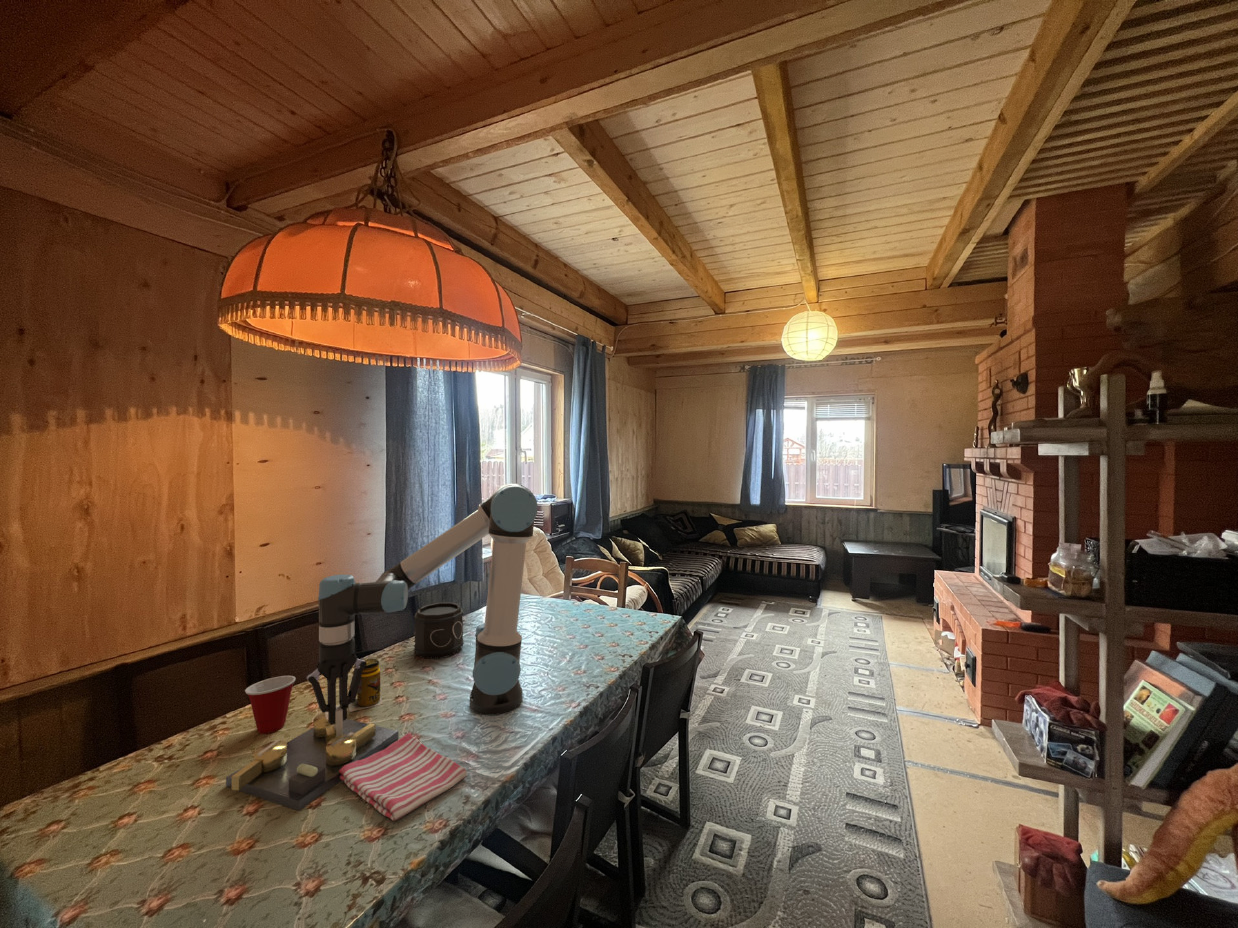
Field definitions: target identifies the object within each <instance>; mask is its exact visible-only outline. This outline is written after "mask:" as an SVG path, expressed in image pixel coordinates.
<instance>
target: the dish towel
mask: <svg viewBox="0 0 1238 928" xmlns="http://www.w3.org/2000/svg"><path fill="white" fill-rule="evenodd" d="M339 772H340V773H341V774H342V775H341V776H340V779H341V781H342V782H344V784H345V786H347V787H348V788H349V789H350V790H351V791H353V792H354V793H356V794H358V795H359V797H360V798H362V800H363V801H365V802H367V803H368V804H370V805H372V806H373V807H374V809H375V810H377V811H378V813H380V814H381V815H383V816H384V817H387V818H389V819H391V820H392V821H397V820H399V819H401V818H402V817H405V816H406V815H407V814H410V813H411V812H412V811H414V810H416V809H417V808H420V807H421V806H422V805H424V804H426V803H428V802H429V801H431V800H433V799H434V798H436V797H438V796H440V795H441V794H443V793H445V792H446V791H447V790H450V789H452V787H454V786H455V785H457V784H458V783H459V782H461V781H462V780H463V779H464V780H465V779H466V778H467V775H468V772H467V770H466V769H465V768H464V766H461V765H459V764H458V763H457V762H455V761H454V760H452V759H451V758H449V757H446V756H445V755H441V754H440V753H439V752H437V751H436V750H434V749H431V748H430V747H427V746H425V745H424V744H423V743H422V742H421V741H420V740H419V739H418V738H416V737H414V736H412V733H411V732H407V733H406V734H404V735H402V736H401V738H398V740H396V741H395V742H393V743H392V744H391V745H389V746H388V747H387V748H385V749H384V750H382V751H379V752H377V753H375V754H373V755H371V756H369V757H367V758H365V759H362V760H358V761H355V762H352V763H349V764H347V765H344V766H343V767H342V768H341V769H340V770H339Z"/></svg>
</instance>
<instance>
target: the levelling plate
mask: <svg viewBox="0 0 1238 928" xmlns="http://www.w3.org/2000/svg"><path fill="white" fill-rule="evenodd" d="M369 724H370V723H366V722H361V721H357V720H353V719H349V718H347V719H346V720H344V721H343V735H347V734H349V733H350V732H352V733H356V732H358V731H359V730H361V729H362V728H364V727H365V726H367V725H369ZM398 740H399V730H395V729H391V728H388V727H387V728H386V727H382V726H379V725H375V736H374V737H373V738H371V739H370V740H368V741H367V742H365V743H364V744H362V745H361V746H359V747H358V748H356V755H355V757H354V758H353V759H352V760H350V761H348V762H346V763H344V764H340V765H328V764H327V763H326V744H327V743H326V738H325V737H316V736H314V735H313V727H312V728H311V729H309V730H307V731H305V732H303V733H301V734H300V735H298V736H296V737H294V738H292V739H291V740H289V741H286V742H287V761H286V762H285V763H284V764H283V765H282V766H280V767H278V768H276V769H274V770H272V771H268V772H262V773H261V774H259V775H258V776H257V777H255V778H254V779H253V780H252V781H250V782H249V783H248V784H246V785H245V786H244V787H242V788H241V789H240V790H237V791H238V792H242V793H244V794H248V795H250V796H254V797H256V798H260V799H263V800H265V801H269V802H272V803H274V804H277V805H281V806H283V807H287V808H290V809H292V810H295V811H298V812H299V811H301V810H302V809H303V808H305V807H307V806H308V805H309V804H311V803H313V801H315V800H316V799H318V798H319V797H320V796H322V795H323V794H324V793H326V792H327V791H328V790H330V789H332V788H333V787H334V786H336V785H337V784H338V783H340V782H341V781H342V780H341V779H340V776H341V775H342V774H341V773H340V772H339V770H340V769H341V768H342V767H343V766H344V765H347V764H349V763H352V762H355V761H358V760H362V759H365V758H367V757H369V756H371V755H373V754H375V753H377V752H379V751H382V750H384V749H386V748H387V747H388V746H390V745H391V744H393V743H394V742H396V741H398ZM300 764H307V765H311V764H312V765H316V766H319V767H323V768H325V780H323V781H322V782H320V783H319V784H318V785H316V786H315V787H313V788H312V789H310V790H309V791H307V792H306V793H305V794H303V795H301V794H298V793H295V792H292V791H289V778H291V777H293V776H294V775H296V774H297V767H298V766H299V765H300ZM244 767H245V766H244ZM244 767H241V768H240V769H238V770H236V771H234V772H233V773H230V774H229V775H227V776H226V777H225V787H227V788H229V787H230V789H232V776H233V775H234V774H236V773H237V772H238V771H240V770H241V769H242V768H244Z"/></svg>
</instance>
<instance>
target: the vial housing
mask: <svg viewBox="0 0 1238 928" xmlns="http://www.w3.org/2000/svg"><path fill="white" fill-rule="evenodd" d="M323 780H325V768H323V767H319V766H316V765H312V764H311V765H307V764H300V765H299V766H298V767H297V774H296V775H294V776H293V777H291V778H289V791H292V792H295V793H298V794H301V795H303V794H305V793H306V792H307V791H309V790H310V789H312V788H313V787H315V786H316V785H318V784H319V783H320V782H322V781H323Z"/></svg>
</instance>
